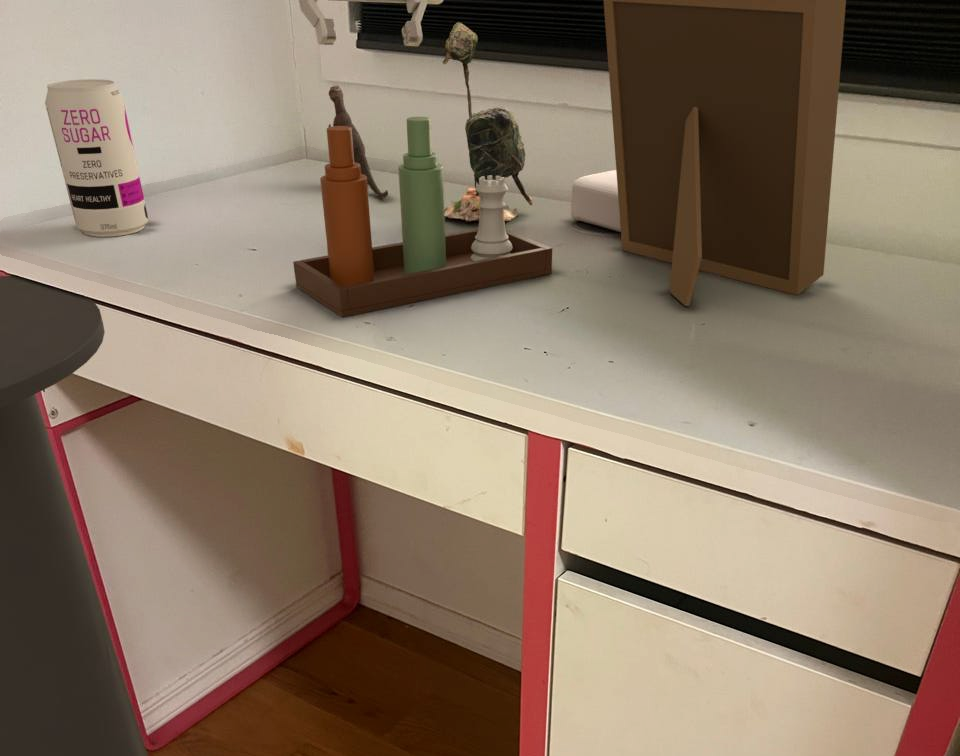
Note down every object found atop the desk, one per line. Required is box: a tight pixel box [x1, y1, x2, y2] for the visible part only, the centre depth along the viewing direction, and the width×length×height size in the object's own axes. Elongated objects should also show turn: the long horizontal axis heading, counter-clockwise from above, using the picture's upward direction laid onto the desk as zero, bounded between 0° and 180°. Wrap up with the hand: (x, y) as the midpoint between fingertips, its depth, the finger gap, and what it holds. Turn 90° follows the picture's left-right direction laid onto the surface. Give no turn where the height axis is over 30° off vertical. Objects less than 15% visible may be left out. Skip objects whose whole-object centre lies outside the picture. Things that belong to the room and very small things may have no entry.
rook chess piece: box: [471, 175, 513, 261], centre depth 97 cm, size 4×4×8 cm
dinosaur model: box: [327, 85, 389, 199], centre depth 123 cm, size 4×12×15 cm
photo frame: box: [603, 0, 847, 307], centre depth 88 cm, size 15×22×25 cm
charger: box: [570, 169, 621, 233], centre depth 109 cm, size 5×9×15 cm
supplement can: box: [44, 78, 149, 238], centre depth 109 cm, size 8×8×15 cm
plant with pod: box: [442, 22, 534, 223], centre depth 109 cm, size 8×11×20 cm
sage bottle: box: [397, 116, 446, 274], centre depth 92 cm, size 4×4×14 cm
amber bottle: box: [319, 125, 375, 286], centre depth 88 cm, size 4×4×14 cm
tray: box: [292, 228, 553, 318], centre depth 95 cm, size 24×11×2 cm, turn 122°
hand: (371, 43), depth 98 cm, fingers open, 8 cm apart
